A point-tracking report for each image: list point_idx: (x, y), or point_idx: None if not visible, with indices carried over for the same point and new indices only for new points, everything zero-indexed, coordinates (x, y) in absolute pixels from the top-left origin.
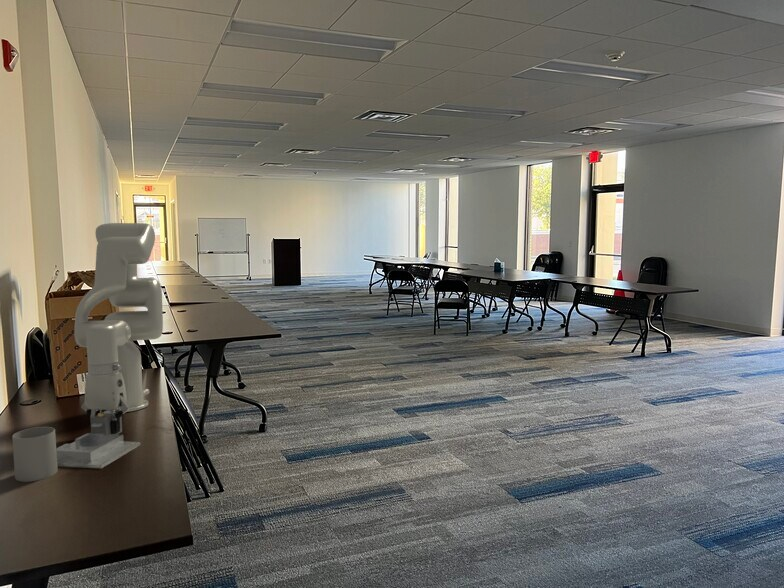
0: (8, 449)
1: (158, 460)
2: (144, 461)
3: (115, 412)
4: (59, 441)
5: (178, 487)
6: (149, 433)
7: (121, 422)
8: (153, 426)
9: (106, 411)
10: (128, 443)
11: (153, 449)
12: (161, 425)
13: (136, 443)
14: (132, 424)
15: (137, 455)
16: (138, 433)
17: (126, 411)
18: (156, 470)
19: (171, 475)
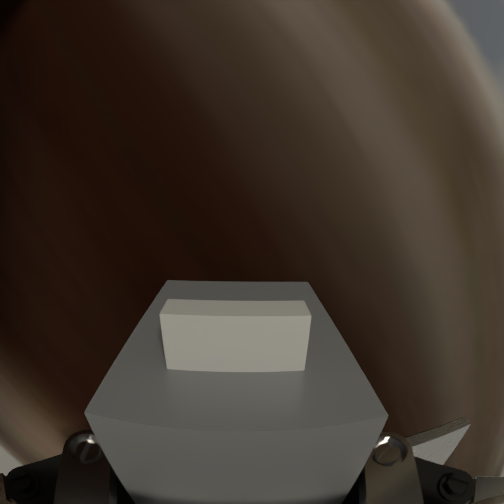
0: (14, 457)
1: (494, 449)
2: (470, 467)
3: (318, 470)
4: (63, 433)
5: (499, 475)
6: (485, 284)
7: (331, 325)
8: (465, 140)
9: (123, 448)
10: (432, 450)
11: (494, 419)
12: (491, 124)
13: (459, 437)
14: (282, 77)
15: (457, 461)
16: (437, 297)
17: (483, 482)
18: (485, 471)
19: (500, 466)
